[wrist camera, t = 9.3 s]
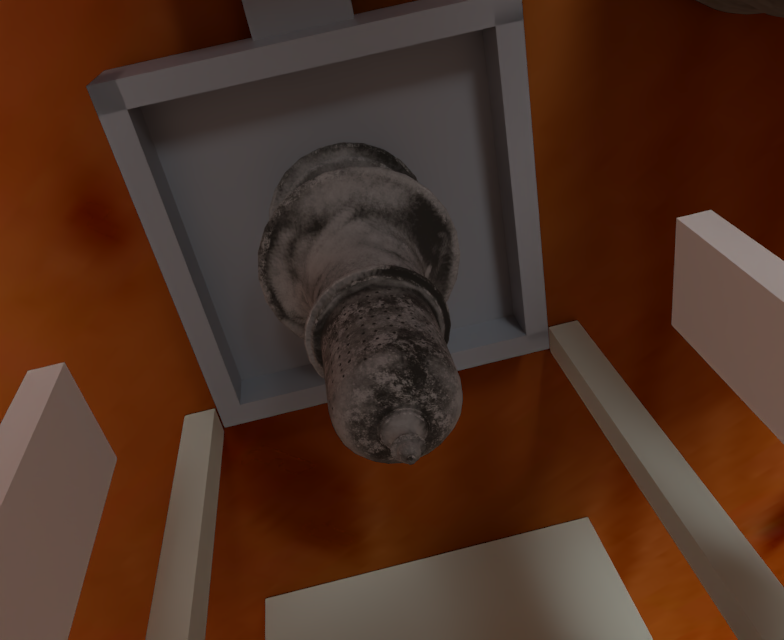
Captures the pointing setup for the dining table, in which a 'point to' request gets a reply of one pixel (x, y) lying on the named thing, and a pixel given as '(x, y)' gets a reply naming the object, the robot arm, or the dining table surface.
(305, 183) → the dark grey tall piece
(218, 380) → the tray
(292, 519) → the dining table surface
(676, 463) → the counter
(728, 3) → the beer stein
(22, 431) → the robot arm
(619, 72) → the dining table surface
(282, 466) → the dining table surface
